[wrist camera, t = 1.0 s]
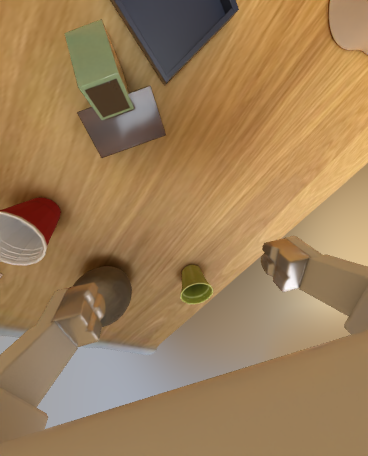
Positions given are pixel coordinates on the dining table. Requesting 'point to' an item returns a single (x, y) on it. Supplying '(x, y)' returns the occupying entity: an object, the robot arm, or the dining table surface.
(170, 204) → the dining table surface
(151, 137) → the walnut block
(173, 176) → the dining table surface
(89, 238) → the dining table surface
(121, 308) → the grey-brown rounded piece
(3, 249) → the plastic cup
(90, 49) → the green box
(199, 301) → the plant pot
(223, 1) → the tray
